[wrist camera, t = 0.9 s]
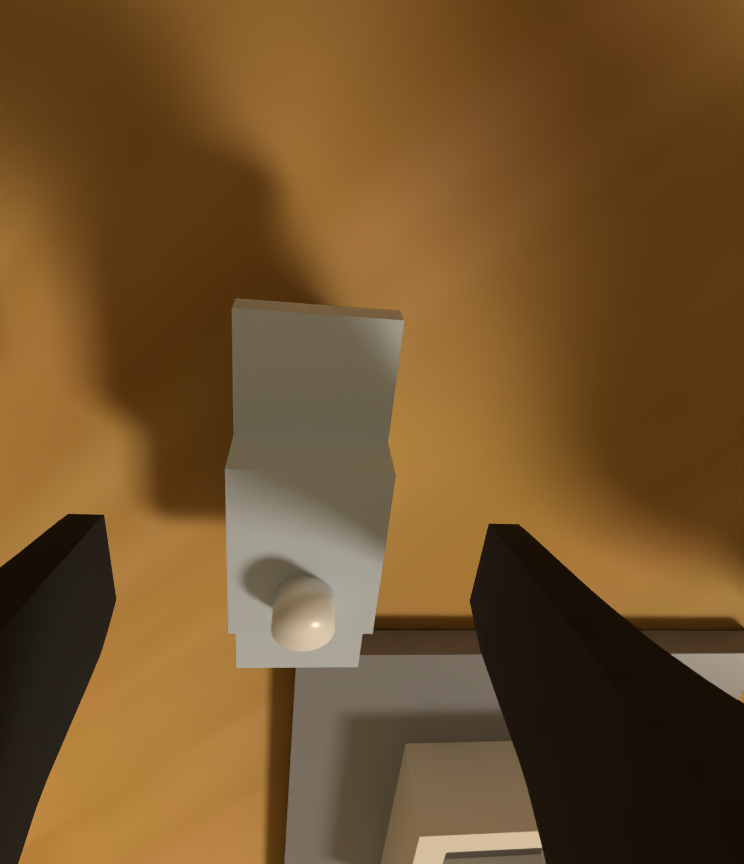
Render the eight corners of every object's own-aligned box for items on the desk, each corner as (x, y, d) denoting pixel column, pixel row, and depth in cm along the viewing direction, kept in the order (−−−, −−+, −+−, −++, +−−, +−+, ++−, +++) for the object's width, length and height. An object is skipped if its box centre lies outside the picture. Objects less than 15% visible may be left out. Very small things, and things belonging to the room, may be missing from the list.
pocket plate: (746, 630, 20) (836, 735, 17) (601, 885, 29) (641, 990, 25) (297, 629, 18) (293, 749, 15) (281, 904, 27) (277, 1021, 23)
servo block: (382, 273, 13) (422, 361, 8) (350, 568, 17) (364, 742, 13) (251, 262, 13) (213, 347, 8) (250, 567, 17) (225, 746, 12)
